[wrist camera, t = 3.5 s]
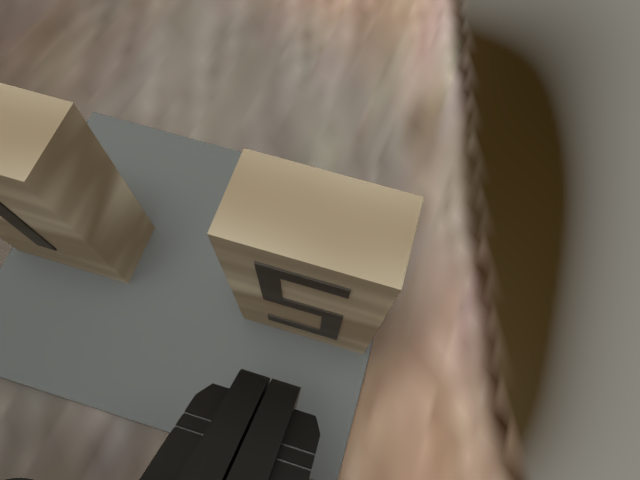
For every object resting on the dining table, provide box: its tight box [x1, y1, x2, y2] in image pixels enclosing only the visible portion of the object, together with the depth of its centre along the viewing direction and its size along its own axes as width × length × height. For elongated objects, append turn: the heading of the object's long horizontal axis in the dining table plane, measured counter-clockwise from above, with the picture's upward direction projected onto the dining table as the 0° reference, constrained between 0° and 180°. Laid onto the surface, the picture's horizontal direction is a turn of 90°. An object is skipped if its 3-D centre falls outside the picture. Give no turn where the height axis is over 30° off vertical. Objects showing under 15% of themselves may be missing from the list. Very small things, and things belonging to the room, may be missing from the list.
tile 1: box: [0, 83, 155, 284], centre depth 16 cm, size 2×4×8 cm, turn 74°
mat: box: [0, 112, 374, 480], centre depth 19 cm, size 14×11×1 cm
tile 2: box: [207, 148, 424, 354], centre depth 15 cm, size 2×4×8 cm, turn 73°
